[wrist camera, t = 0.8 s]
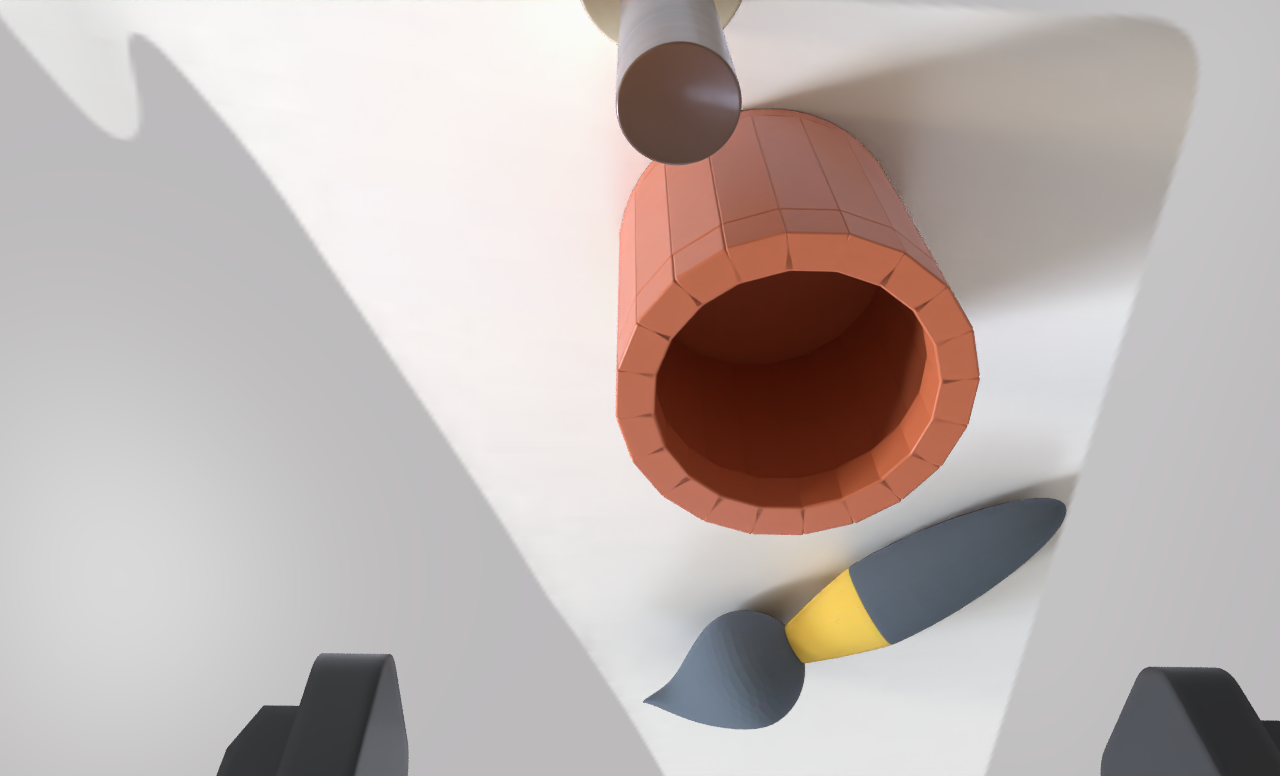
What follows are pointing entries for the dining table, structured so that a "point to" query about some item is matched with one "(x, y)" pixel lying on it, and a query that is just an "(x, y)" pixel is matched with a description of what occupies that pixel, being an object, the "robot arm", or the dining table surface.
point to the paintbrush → (853, 614)
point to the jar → (785, 333)
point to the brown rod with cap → (672, 75)
